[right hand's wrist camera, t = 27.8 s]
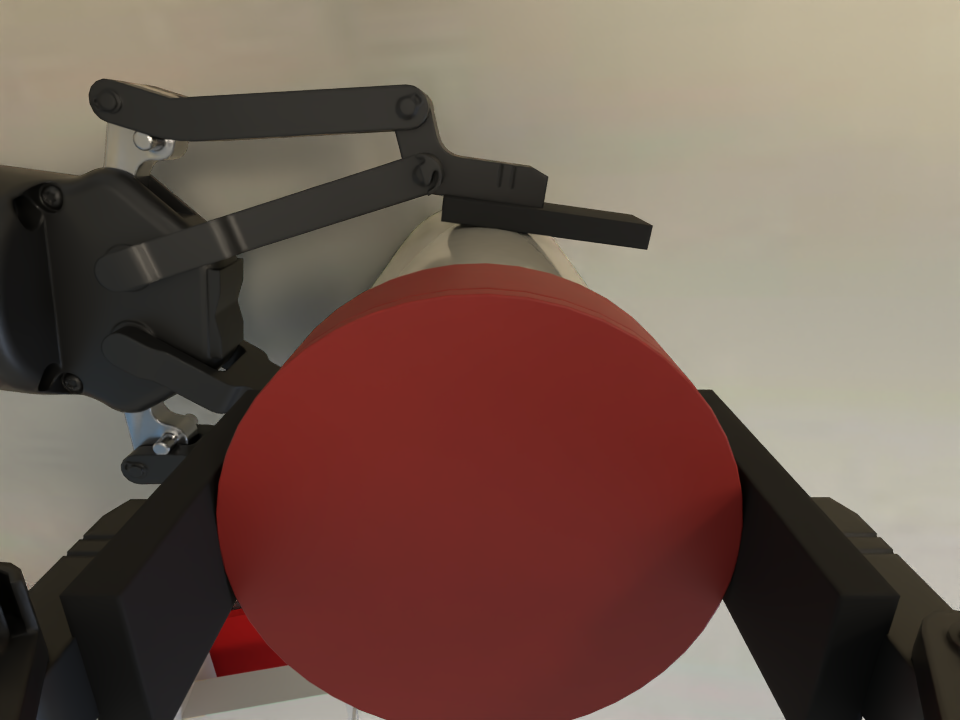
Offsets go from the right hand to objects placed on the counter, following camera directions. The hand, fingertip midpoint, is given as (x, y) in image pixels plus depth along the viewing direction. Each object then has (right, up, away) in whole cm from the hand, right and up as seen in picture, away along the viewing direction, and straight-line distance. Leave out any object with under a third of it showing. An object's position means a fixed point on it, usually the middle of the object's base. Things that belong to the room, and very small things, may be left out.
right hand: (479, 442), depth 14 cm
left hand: (+5, +2, +7) cm, 9 cm away
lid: (0, -1, -3) cm, 3 cm away
